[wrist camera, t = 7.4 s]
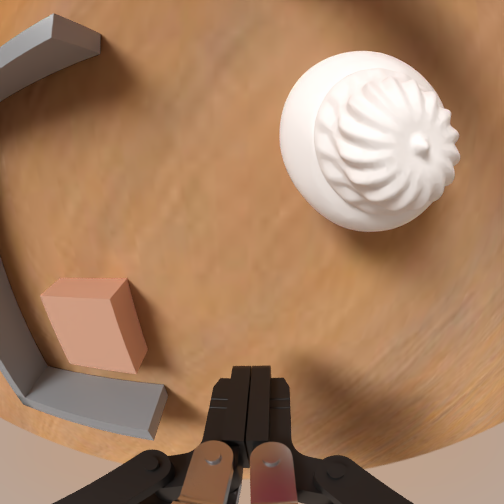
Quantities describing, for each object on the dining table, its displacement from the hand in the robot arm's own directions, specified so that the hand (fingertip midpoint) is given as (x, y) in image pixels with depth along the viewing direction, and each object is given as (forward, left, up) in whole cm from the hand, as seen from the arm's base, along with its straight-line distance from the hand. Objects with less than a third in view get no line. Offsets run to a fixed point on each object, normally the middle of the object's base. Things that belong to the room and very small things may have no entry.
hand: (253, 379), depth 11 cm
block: (+9, 0, -5) cm, 10 cm away
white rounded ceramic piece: (-4, -9, -5) cm, 11 cm away
